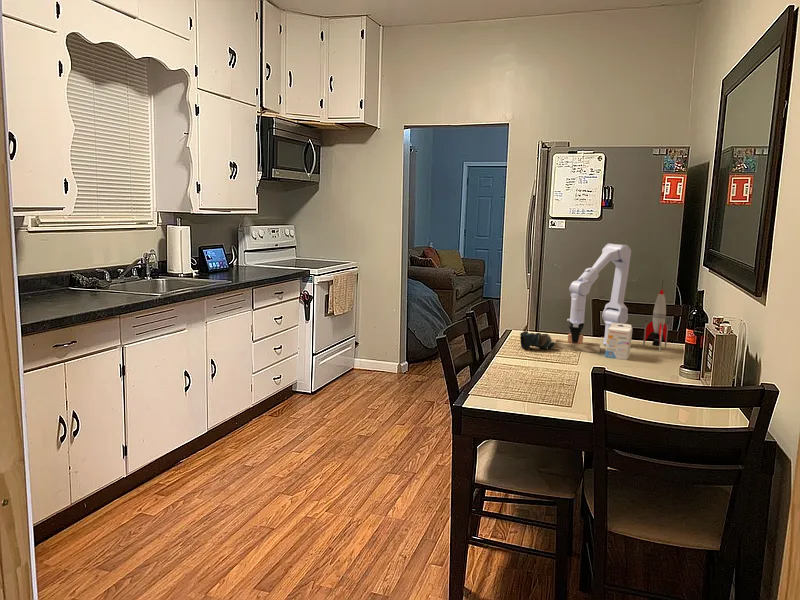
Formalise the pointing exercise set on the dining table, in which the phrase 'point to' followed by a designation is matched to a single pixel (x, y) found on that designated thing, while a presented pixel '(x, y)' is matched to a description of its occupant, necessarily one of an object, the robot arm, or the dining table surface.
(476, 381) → the dining table surface
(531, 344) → the figurine
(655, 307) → the toy
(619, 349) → the ink box
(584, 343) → the rail
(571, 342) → the tall salmon pink block
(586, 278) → the robot arm
